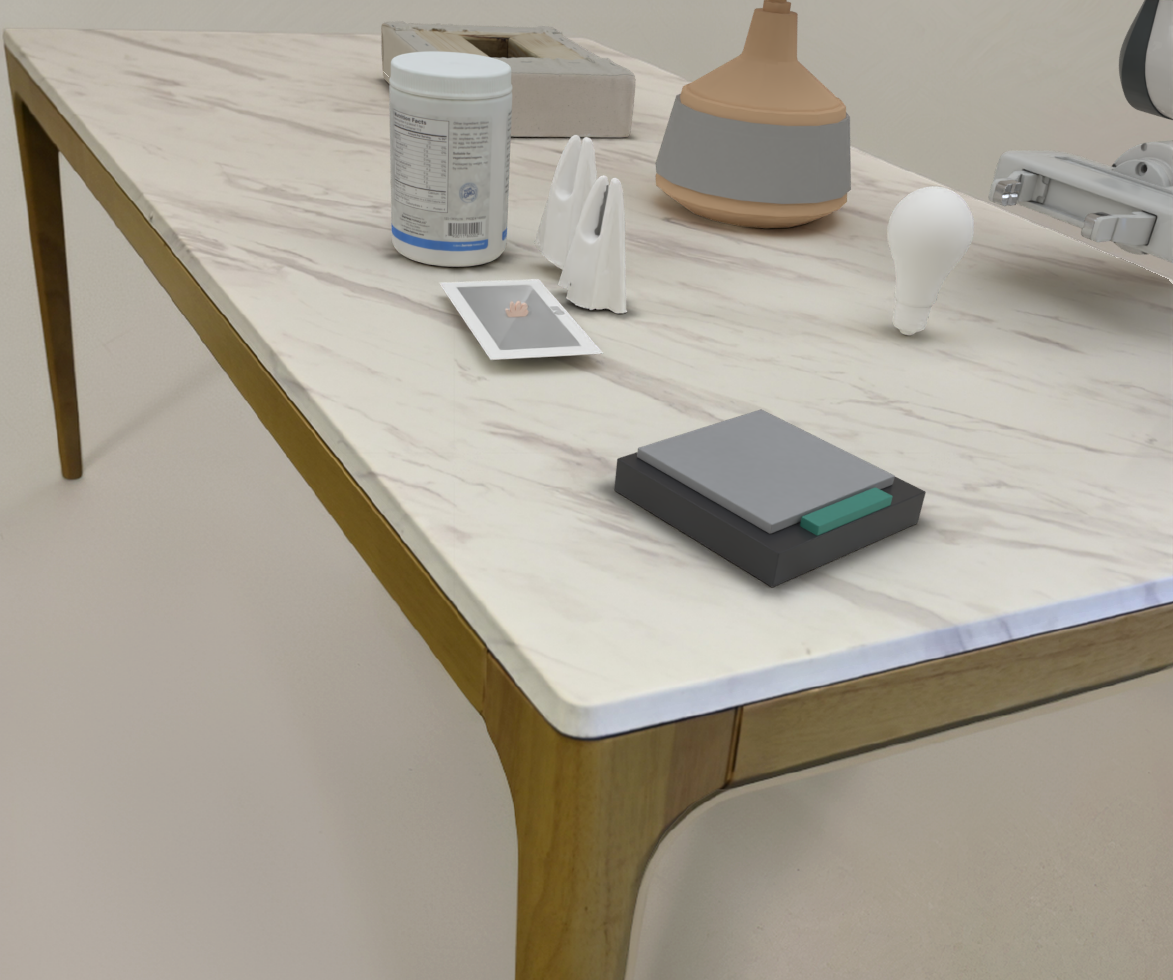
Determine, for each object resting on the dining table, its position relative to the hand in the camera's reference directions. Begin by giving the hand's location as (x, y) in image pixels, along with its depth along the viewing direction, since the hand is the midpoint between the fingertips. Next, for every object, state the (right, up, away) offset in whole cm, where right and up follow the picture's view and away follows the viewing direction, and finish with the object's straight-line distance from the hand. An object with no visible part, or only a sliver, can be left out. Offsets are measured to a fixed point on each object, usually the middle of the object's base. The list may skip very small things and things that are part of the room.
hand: (1041, 209), depth 94 cm
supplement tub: (-46, -1, +8) cm, 47 cm away
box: (-46, +30, +57) cm, 79 cm away
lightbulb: (-11, -10, -1) cm, 15 cm away
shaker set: (-36, -6, +2) cm, 36 cm away
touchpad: (-40, -11, -6) cm, 42 cm away
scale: (-25, -25, -26) cm, 44 cm away
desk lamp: (-19, +8, +26) cm, 33 cm away
